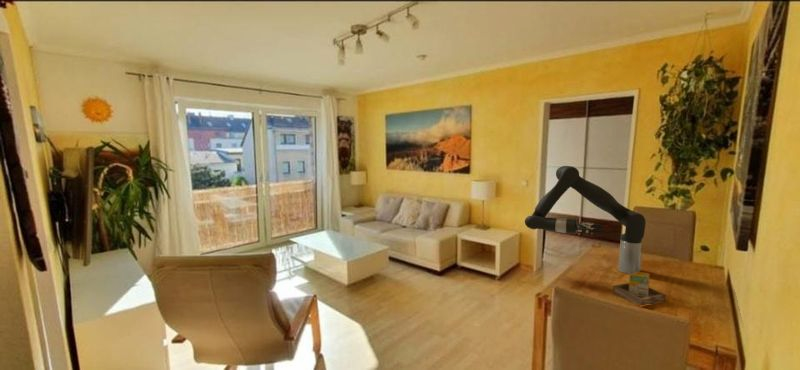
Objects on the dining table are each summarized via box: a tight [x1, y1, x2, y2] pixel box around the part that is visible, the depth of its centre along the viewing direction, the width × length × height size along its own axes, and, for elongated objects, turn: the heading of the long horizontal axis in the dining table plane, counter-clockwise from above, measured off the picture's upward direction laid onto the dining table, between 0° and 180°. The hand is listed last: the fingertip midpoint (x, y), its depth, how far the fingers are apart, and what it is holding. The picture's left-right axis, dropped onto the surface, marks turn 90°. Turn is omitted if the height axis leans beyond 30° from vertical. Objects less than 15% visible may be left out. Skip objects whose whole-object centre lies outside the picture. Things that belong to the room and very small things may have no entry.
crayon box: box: [628, 271, 651, 297], centre depth 150 cm, size 7×3×12 cm, turn 56°
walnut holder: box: [612, 282, 667, 305], centre depth 151 cm, size 14×14×4 cm
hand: (602, 229), depth 161 cm, fingers open, 8 cm apart
